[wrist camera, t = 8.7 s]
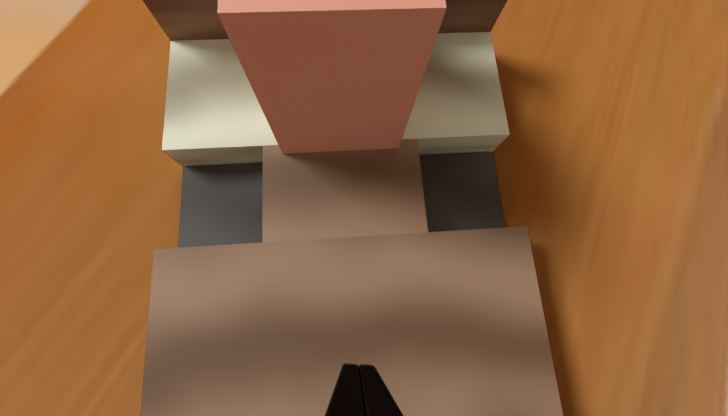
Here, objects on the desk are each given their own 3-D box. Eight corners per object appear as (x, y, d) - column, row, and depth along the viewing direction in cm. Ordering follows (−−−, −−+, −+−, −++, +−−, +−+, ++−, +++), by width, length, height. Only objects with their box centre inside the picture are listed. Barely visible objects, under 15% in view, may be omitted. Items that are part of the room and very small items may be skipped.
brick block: (399, 148, 18) (446, 7, 9) (282, 153, 18) (217, 13, 9) (387, 34, 20) (418, -174, 11) (281, 37, 19) (225, -176, 11)
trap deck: (541, 445, 17) (629, 512, 12) (165, 482, 16) (73, 575, 11) (472, 47, 23) (510, -30, 17) (191, 55, 22) (140, -23, 16)
